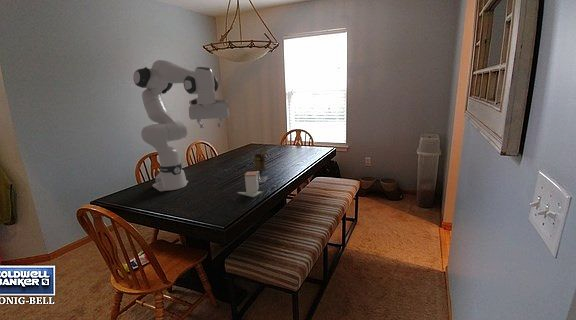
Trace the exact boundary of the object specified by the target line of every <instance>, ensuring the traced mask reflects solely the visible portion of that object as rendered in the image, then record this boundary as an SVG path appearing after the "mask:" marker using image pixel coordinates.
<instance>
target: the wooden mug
mask: <svg viewBox="0 0 576 320" xmlns="http://www.w3.org/2000/svg"><path fill="white" fill-rule="evenodd" d="M267 153H268V147H266V146H264V147H262V148H261V149H260V150H259V153H256V154H254V157H253V171H266V170H267V167H266V163H265V162H266V156H265V154H267ZM253 171H252V172H253Z"/></svg>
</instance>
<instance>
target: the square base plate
mask: <svg viewBox="0 0 576 320" xmlns="http://www.w3.org/2000/svg"><path fill="white" fill-rule="evenodd" d="M256 171H257V170H256ZM257 172H258V183H266V182H267V180H268V175H265V176H261V174H260V170H258V171H257Z"/></svg>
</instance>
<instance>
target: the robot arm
mask: <svg viewBox="0 0 576 320" xmlns="http://www.w3.org/2000/svg"><path fill="white" fill-rule="evenodd" d="M133 81H134V84H135V86H137V87H139V88H142V89H144V90H143V91H142V94H141V97H142V102H143V103H142V104H143V106H144V109H145V112H146V114H147V116H148V117H147V118H148V119H149V120H150V121H152V122H154V124H149V125H146V126H144V127H143V128H142V129H141V132H140V136H141V138H142V140H143V141H144V142H145V144H148V145H149V146H151V147H153V148H154V149H155V151H156V152H157V154H158V158H159V163H160V165H159V173H157V175H156V176H155V179H154V182H155V183H153V184H152V187H153V188H154V189H156V190H157V191H159V192H165V191H175V190H179V189H182V188H185V187H186V186H187V184H188V183H189V180H187V178H186V174H185V171H184V170H183V165H182V162H181V158H180V152H179V150H178V149H177V148H175V147H173V146H169V145H168V142H173V141H174V142H175V141H179V140H182V139H184V138H186V137H188V133H189V130H188V126H187V125H186V124H185V123H184V122H183V121H181V120H178V119H176V118H175V117H173V116H172V115H171V113H170V112H169V111H168V109H167V106H166V104H165V102H164V100H163V97H162V95H164V94H167V92H169V90H171V89H172V87H173V85H174V84H183V87H184V90H185V91H186V93H188V94H189V95H197V97H196V98H193V99H190V100H188V103H189V104H188V105H190V106H189V107H188V117H189V119H190V120H191V121H192V120H196V123H198V125H199V127H200V129H204V128H205V125H204V124H203V123H202V120H210V119H211V120H213V119H219V120H218V121H219V123H217V127H218V128H222V126H223V125H222V124H223V121H224V119H227V118H229V117H230V109H229V102H228V100H227V99H217V91H218V89H219V81H218V79H217V78H216V76H215V75H214V73H213V70H212V68H210V67H205V66H197V67H195V70H193V71H192V70H190V69H186V68H185V67H183V66H181V65H177V64H175V63H173V62H171V61H168V60H166V59H165V60H162V59H157V60H155V61H154V62H153V63H152V65H151V68H148V67H147V66H145V67H142V68H138V69H137V70H135V71H134V74H133Z"/></svg>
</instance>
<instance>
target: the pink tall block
mask: <svg viewBox="0 0 576 320" xmlns="http://www.w3.org/2000/svg"><path fill="white" fill-rule="evenodd" d="M244 180H245V181H244V182H245V191H246V193H247V192H258V191H259V188H260V185H259V182H258V172H257V170H254V171H246V172H245V173H244Z"/></svg>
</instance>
